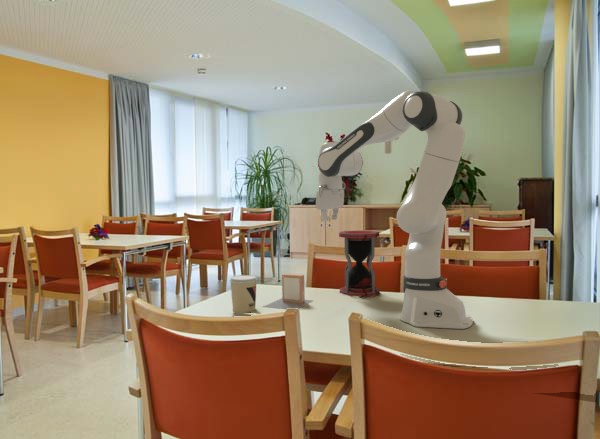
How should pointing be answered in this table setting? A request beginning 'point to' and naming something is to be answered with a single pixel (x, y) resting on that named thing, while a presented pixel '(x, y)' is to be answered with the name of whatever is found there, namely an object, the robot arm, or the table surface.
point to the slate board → (286, 304)
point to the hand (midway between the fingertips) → (330, 220)
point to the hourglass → (359, 263)
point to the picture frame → (293, 288)
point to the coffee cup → (243, 293)
